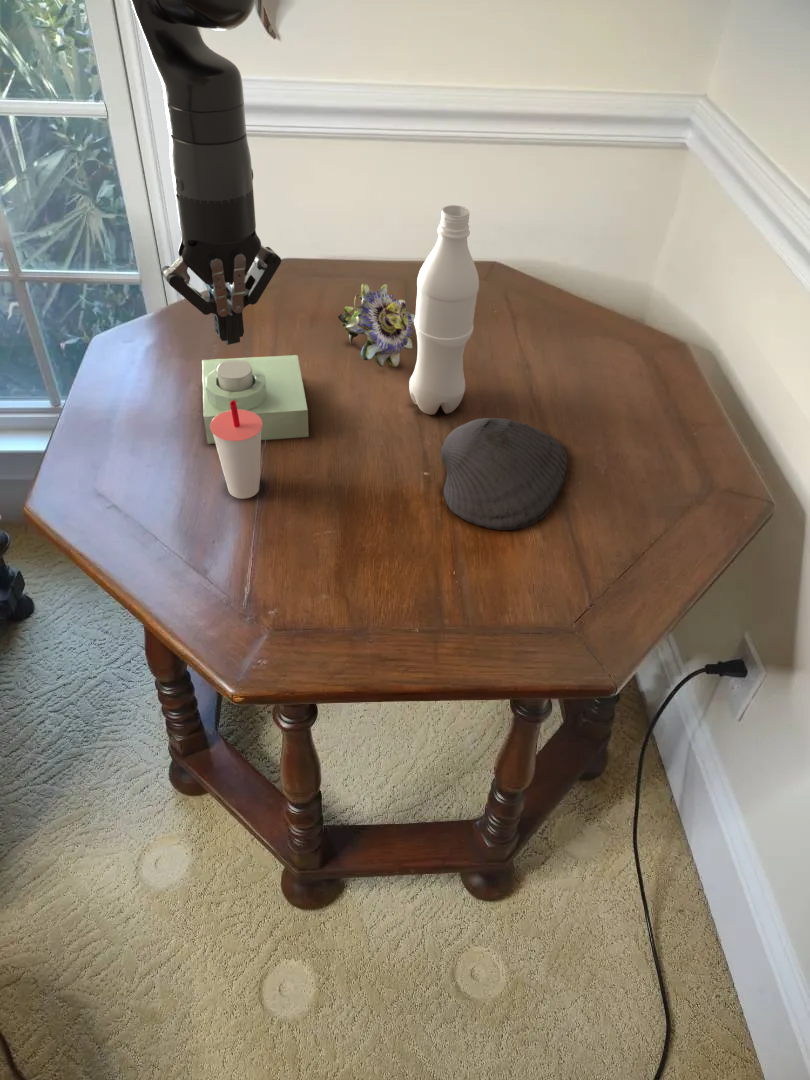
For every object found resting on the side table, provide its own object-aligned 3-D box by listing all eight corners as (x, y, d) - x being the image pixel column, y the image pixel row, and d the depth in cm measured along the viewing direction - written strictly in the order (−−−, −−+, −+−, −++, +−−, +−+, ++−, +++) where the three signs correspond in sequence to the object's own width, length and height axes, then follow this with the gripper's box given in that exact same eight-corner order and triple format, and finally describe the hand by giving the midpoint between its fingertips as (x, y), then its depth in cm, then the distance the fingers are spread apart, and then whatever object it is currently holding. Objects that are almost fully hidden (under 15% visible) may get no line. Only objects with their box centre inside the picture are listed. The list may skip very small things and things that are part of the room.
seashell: (410, 508, 89) (408, 458, 83) (491, 416, 99) (496, 365, 93) (518, 560, 84) (525, 511, 78) (593, 457, 94) (604, 407, 88)
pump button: (219, 394, 89) (217, 379, 88) (218, 375, 92) (216, 360, 90) (254, 392, 90) (252, 377, 88) (252, 373, 92) (250, 358, 91)
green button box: (207, 444, 91) (201, 402, 87) (206, 386, 99) (200, 345, 95) (308, 436, 93) (307, 395, 89) (298, 381, 102) (297, 341, 97)
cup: (240, 511, 84) (229, 422, 75) (209, 488, 86) (195, 399, 77) (277, 489, 86) (271, 401, 78) (247, 466, 89) (237, 378, 80)
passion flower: (390, 396, 110) (380, 364, 98) (328, 360, 112) (310, 324, 100) (432, 331, 111) (426, 292, 99) (369, 297, 112) (356, 254, 101)
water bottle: (470, 397, 101) (498, 206, 84) (450, 426, 97) (474, 230, 79) (421, 382, 103) (438, 192, 85) (398, 409, 98) (411, 214, 81)
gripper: (260, 160, 79) (270, 313, 92) (133, 177, 74) (162, 337, 86) (292, 186, 75) (298, 343, 87) (159, 207, 70) (185, 371, 82)
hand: (230, 340), depth 87 cm, fingers closed
